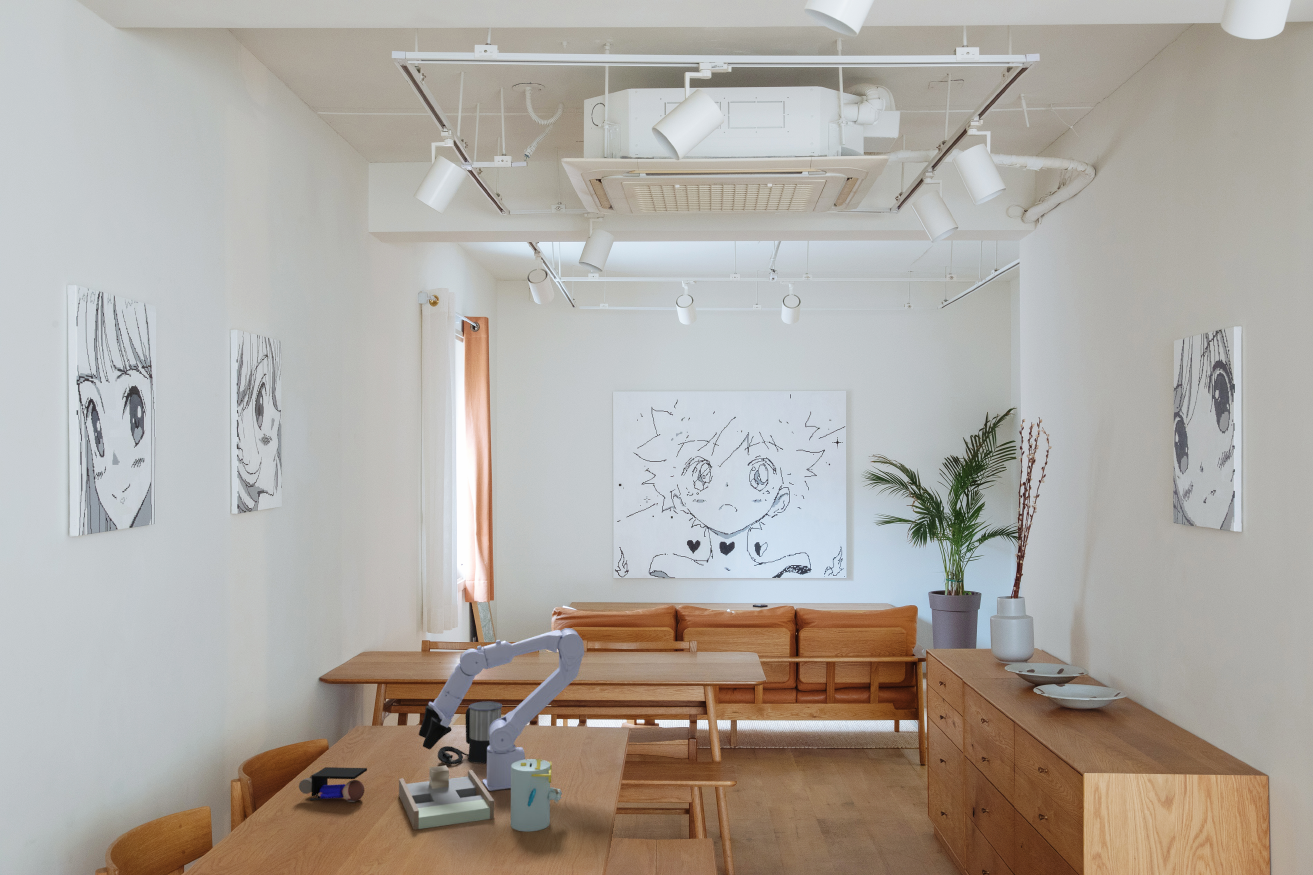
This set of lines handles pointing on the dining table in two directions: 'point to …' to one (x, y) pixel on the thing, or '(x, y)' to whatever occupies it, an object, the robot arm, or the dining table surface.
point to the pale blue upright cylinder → (531, 794)
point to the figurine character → (323, 790)
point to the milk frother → (475, 733)
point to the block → (439, 777)
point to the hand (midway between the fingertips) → (424, 741)
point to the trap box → (446, 802)
